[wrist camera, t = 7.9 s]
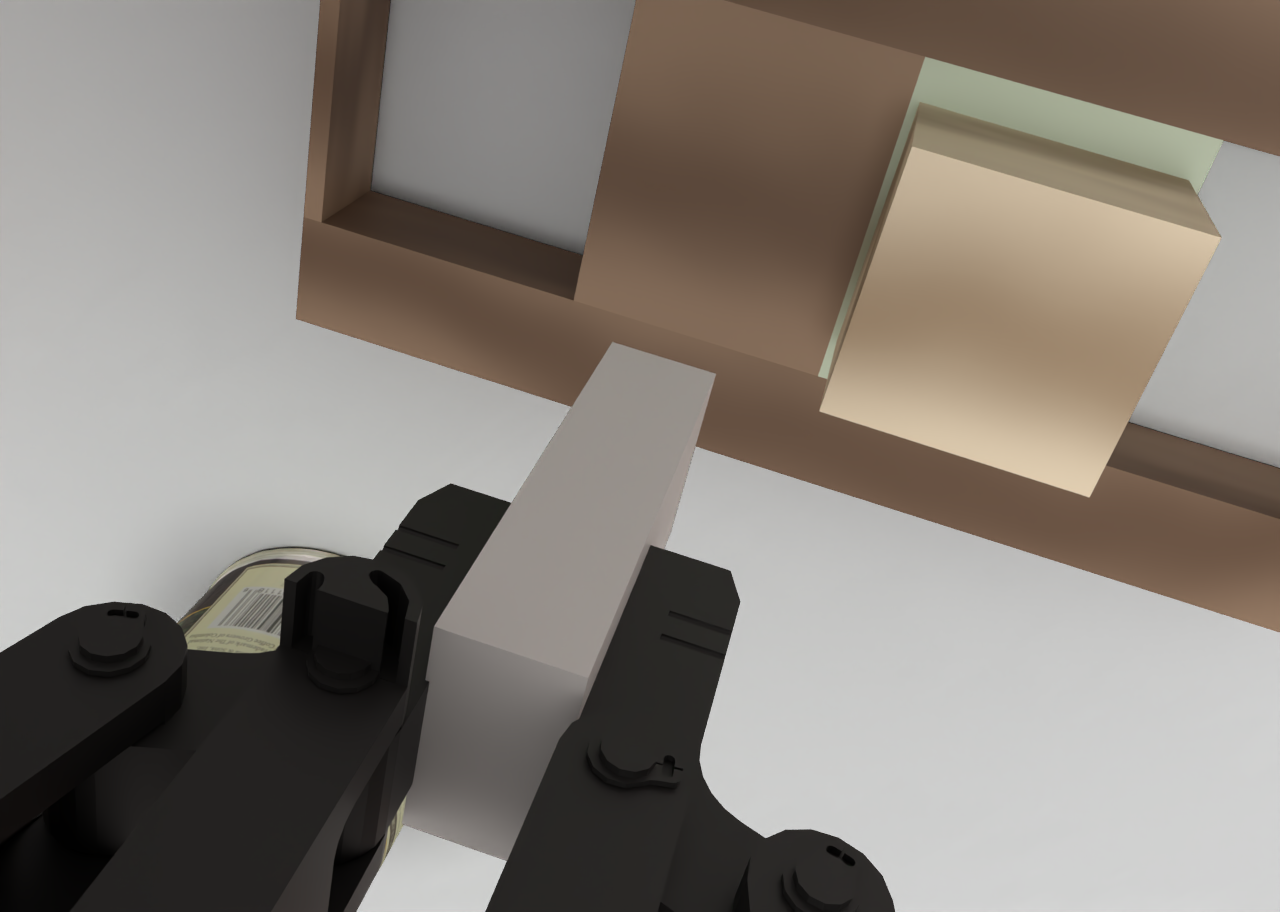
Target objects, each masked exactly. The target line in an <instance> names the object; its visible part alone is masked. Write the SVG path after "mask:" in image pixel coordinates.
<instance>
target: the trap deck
mask: <svg viewBox="0 0 1280 912" xmlns="http://www.w3.org/2000/svg"><path fill="white" fill-rule="evenodd" d="M389 9H390V0H320V11H319V24H318V37H317V50H316V63H315V76H314V89H313V102H312V115H311V128H310V141H309V155H308V168H307V181H306V194H305V207H304V220H303V233H302V246H301V259H300V272H299V285H298V298H297V311H296V319H298V320H301V321H304V322H307V323H310V324H314V325H317V326H320V327H323V328H326V329H329V330H332V331H335V332H339V333H342V334H345V335H348V336H351V337H354V338H357V339H361V340H364V341H367V342H370V343H373V344H376V345H379V346H383V347H386V348H389V349H392V350H395V351H398V352H401V353H405V354H408V355H411V356H414V357H417V358H420V359H423V360H426V361H430V362H433V363H436V364H439V365H442V366H445V367H448V368H452V369H455V370H458V371H461V372H464V373H467V374H470V375H474V376H477V377H480V378H483V379H486V380H489V381H492V382H496V383H499V384H502V385H505V386H508V387H511V388H514V389H517V390H521V391H524V392H527V393H530V394H533V395H536V396H539V397H543V398H546V399H549V400H552V401H555V402H558V403H561V404H565V405H568V406H571V407H572V406H573V404H574V403H575V401H576V399H577V398H578V396H579V395H580V393H581V391H582V390H583V388H584V387H585V385H586V383H587V382H588V380H589V379H590V377H591V375H592V374H593V372H594V371H595V369H596V367H597V366H598V364H599V363H600V361H601V359H602V358H603V356H604V355H605V353H606V351H607V350H608V348H609V347H610V345H611V344H612V342H614V343H617V344H621V345H624V346H627V347H630V348H634V349H637V350H640V351H643V352H647V353H650V354H653V355H656V356H660V357H663V358H666V359H669V360H673V361H676V362H679V363H682V364H686V365H689V366H692V367H695V368H699V369H702V370H705V371H708V372H711V373H715V374H716V376H715V379H714V383H713V386H712V390H711V393H710V397H709V400H708V404H707V407H706V411H705V414H704V418H703V421H702V425H701V428H700V432H699V436H698V439H697V443H696V447H699V448H703V449H706V450H709V451H712V452H715V453H718V454H721V455H725V456H728V457H731V458H734V459H737V460H740V461H743V462H747V463H750V464H753V465H756V466H759V467H762V468H765V469H769V470H772V471H775V472H778V473H781V474H784V475H787V476H790V477H794V478H797V479H800V480H803V481H806V482H809V483H812V484H816V485H819V486H822V487H825V488H828V489H831V490H834V491H838V492H841V493H844V494H847V495H850V496H853V497H856V498H860V499H863V500H866V501H869V502H872V503H875V504H878V505H881V506H885V507H888V508H891V509H894V510H897V511H900V512H903V513H907V514H910V515H913V516H916V517H919V518H922V519H925V520H929V521H932V522H935V523H938V524H941V525H944V526H947V527H951V528H954V529H957V530H960V531H963V532H966V533H969V534H972V535H976V536H979V537H982V538H985V539H988V540H991V541H994V542H998V543H1001V544H1004V545H1007V546H1010V547H1013V548H1016V549H1020V550H1023V551H1026V552H1029V553H1032V554H1035V555H1038V556H1042V557H1045V558H1048V559H1051V560H1054V561H1057V562H1060V563H1063V564H1067V565H1070V566H1073V567H1076V568H1079V569H1082V570H1085V571H1089V572H1092V573H1095V574H1098V575H1101V576H1104V577H1107V578H1111V579H1114V580H1117V581H1120V582H1123V583H1126V584H1129V585H1133V586H1136V587H1139V588H1142V589H1145V590H1148V591H1151V592H1154V593H1158V594H1161V595H1164V596H1167V597H1170V598H1173V599H1176V600H1180V601H1183V602H1186V603H1189V604H1192V605H1195V606H1198V607H1202V608H1205V609H1208V610H1211V611H1214V612H1217V613H1220V614H1223V615H1227V616H1230V617H1233V618H1236V619H1239V620H1242V621H1245V622H1249V623H1252V624H1255V625H1258V626H1261V627H1264V628H1267V629H1271V630H1274V631H1277V632H1280V468H1276V467H1273V466H1270V465H1266V464H1263V463H1260V462H1257V461H1253V460H1250V459H1247V458H1244V457H1240V456H1237V455H1234V454H1230V453H1227V452H1224V451H1221V450H1217V449H1214V448H1211V447H1208V446H1204V445H1201V444H1198V443H1194V442H1191V441H1188V440H1185V439H1181V438H1178V437H1175V436H1172V435H1168V434H1165V433H1162V432H1158V431H1155V430H1152V429H1149V428H1145V427H1142V426H1139V425H1136V424H1132V423H1129V422H1128V423H1127V425H1126V427H1125V429H1124V431H1123V433H1122V435H1121V437H1120V439H1119V441H1118V443H1117V445H1116V446H1115V448H1114V450H1113V452H1112V454H1111V456H1110V458H1109V460H1108V462H1107V464H1106V466H1105V468H1104V470H1103V472H1102V474H1101V476H1100V478H1099V480H1098V482H1097V484H1096V486H1095V488H1094V490H1093V492H1092V494H1091V496H1090V498H1089V497H1086V496H1083V495H1080V494H1077V493H1074V492H1071V491H1068V490H1064V489H1061V488H1058V487H1055V486H1052V485H1049V484H1046V483H1042V482H1039V481H1036V480H1033V479H1030V478H1027V477H1024V476H1020V475H1017V474H1014V473H1011V472H1008V471H1005V470H1002V469H998V468H995V467H992V466H989V465H986V464H983V463H980V462H977V461H973V460H970V459H967V458H964V457H961V456H958V455H955V454H951V453H948V452H945V451H942V450H939V449H936V448H933V447H929V446H926V445H923V444H920V443H917V442H914V441H911V440H907V439H904V438H901V437H898V436H895V435H892V434H889V433H886V432H882V431H879V430H876V429H873V428H870V427H867V426H864V425H860V424H857V423H854V422H851V421H848V420H845V419H842V418H838V417H835V416H832V415H829V414H826V413H823V412H820V411H819V410H820V406H821V402H822V398H823V394H824V390H825V386H826V382H827V378H828V374H829V370H830V366H831V362H832V358H833V354H834V350H835V346H836V342H837V339H838V336H839V333H840V330H841V327H842V325H843V322H844V319H845V316H846V313H847V310H848V307H849V304H850V301H851V299H852V296H853V293H854V290H855V287H856V284H857V281H858V278H859V276H860V273H861V270H862V267H863V264H864V261H865V258H866V255H867V253H868V250H869V247H870V244H871V241H872V238H873V235H874V232H875V229H876V227H877V224H878V221H879V218H880V215H881V212H882V209H883V206H884V204H885V201H886V198H887V195H888V192H889V189H890V186H891V183H892V180H893V178H894V175H895V172H896V169H897V166H898V163H899V160H900V157H901V155H902V152H903V149H904V146H905V143H906V140H907V137H908V134H909V132H910V129H911V126H912V123H913V120H914V117H915V114H916V111H917V108H918V106H919V103H920V102H922V103H926V104H929V105H932V106H936V107H939V108H943V109H946V110H950V111H953V112H956V113H960V114H963V115H967V116H970V117H974V118H977V119H980V120H984V121H987V122H991V123H994V124H998V125H1001V126H1005V127H1008V128H1011V129H1015V130H1018V131H1022V132H1025V133H1029V134H1032V135H1035V136H1039V137H1042V138H1046V139H1049V140H1053V141H1056V142H1059V143H1063V144H1066V145H1070V146H1073V147H1077V148H1080V149H1083V150H1087V151H1090V152H1094V153H1097V154H1101V155H1104V156H1107V157H1111V158H1114V159H1118V160H1121V161H1125V162H1128V163H1131V164H1135V165H1138V166H1142V167H1145V168H1149V169H1152V170H1155V171H1159V172H1162V173H1166V174H1169V175H1173V176H1176V177H1179V178H1183V179H1186V180H1189V181H1190V183H1191V185H1192V187H1193V188H1194V190H1195V192H1196V194H1197V195H1198V193H1199V191H1200V189H1201V187H1202V184H1203V182H1204V180H1205V178H1206V176H1207V174H1208V172H1209V170H1210V168H1211V166H1212V164H1213V162H1214V160H1215V157H1216V155H1217V153H1218V151H1219V149H1220V147H1221V145H1222V143H1223V141H1227V142H1231V143H1234V144H1238V145H1241V146H1245V147H1249V148H1252V149H1256V150H1259V151H1263V152H1266V153H1270V154H1273V155H1277V156H1280V0H636V3H635V8H634V13H633V17H632V22H631V27H630V32H629V37H628V41H627V46H626V51H625V56H624V61H623V65H622V70H621V75H620V80H619V85H618V90H617V94H616V99H615V104H614V109H613V114H612V118H611V123H610V128H609V133H608V138H607V142H606V147H605V152H604V157H603V162H602V166H601V171H600V176H599V181H598V186H597V190H596V195H595V200H594V205H593V210H592V215H591V219H590V224H589V229H588V234H587V239H586V243H585V248H584V253H583V255H579V254H576V253H573V252H570V251H566V250H563V249H560V248H556V247H553V246H550V245H547V244H543V243H540V242H537V241H534V240H530V239H527V238H524V237H520V236H517V235H514V234H511V233H507V232H504V231H501V230H498V229H494V228H491V227H488V226H484V225H481V224H478V223H475V222H471V221H468V220H465V219H462V218H458V217H455V216H452V215H448V214H445V213H442V212H439V211H435V210H432V209H429V208H426V207H422V206H419V205H416V204H412V203H409V202H406V201H403V200H399V199H396V198H393V197H390V196H386V195H383V194H380V193H376V192H373V191H370V189H371V179H372V170H373V160H374V151H375V141H376V132H377V123H378V113H379V104H380V94H381V85H382V75H383V66H384V56H385V47H386V38H387V28H388V19H389Z"/></svg>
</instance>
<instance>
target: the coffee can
mask: <svg viewBox="0 0 1280 912" xmlns="http://www.w3.org/2000/svg"><path fill="white" fill-rule="evenodd" d="M326 557H341V556H339V555H336V554H332V553H327V552H323V551H318V550H312V549H302V548H282V549H274V550H267V551H261V552H258V553H255V554H253V555H251V556H248V557H246V558H243V559H241V560H239V561H237V562H236V563H234V564H233V565H231V566H230V567H228V568H227V569H226V570H225V571H224V572H223V573H222V574H221V575H220V576H219V577H218V578H217V579H216V580H215V581H214V583H213V584H212V585H211V587H210V589H209V590H208V591H207V593H206V594H205V595H204V596H203V597H202V598H201V599H200V600H199V601H198V602H197V603H196V604H195V605H194V606H193V608H192V609H190V610H189V612H188V613H187V614H186V615H185V616H184V617H183V618H182V619H181V620H180V621H179V622H178V623H177V624H179V625H180V626H181V627H182V630H183V633H184V636H185V639H186V642H187V645H188V649H193V650H205V651H217V652H229V653H261V652H267V651H273V650H276V649H277V647H278V646H279V645H280V633H281V619H282V606H283V592H284V579H285V578H286V577H287V576H289V575H290V574H291V573H293V572H294V571H295V570H297V569H298V568H299V567H300V566H302V565H304V564H307V563H310V562H314V561H317V560H320V559H323V558H326ZM405 802H406V797H405V798H404V800H403V802H402V804H401V806H400V807H399V809H398V811H397V813H396V815H395V817H394V818H393V820H392V822H391V824H390V826H389V827H388V833H387V839H386V846H385V850H384V854H383V858H382V861H381V865H382V863H383V862H384V860H385V858H386V856H387V854H388V852H389V851H390V849H391V847H392V845H393V843H394V841H395V839H396V837H397V836H398V834H399V832H400V830H401V829H402V827H403V824H402V820H403V814H404V808H405ZM381 865H380V867H381ZM379 869H380V868H379ZM377 872H378V871H377ZM376 874H377V873H376ZM375 876H376V875H375ZM374 878H375V877H374ZM373 880H374V879H373ZM370 885H371V884H370ZM369 887H370V886H369ZM368 889H369V888H368ZM367 891H368V890H367ZM366 893H367V892H366ZM362 900H363V899H362ZM361 902H362V901H361ZM360 904H361V903H360ZM359 906H360V905H359Z"/></svg>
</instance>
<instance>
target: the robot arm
mask: <svg viewBox="0 0 1280 912" xmlns="http://www.w3.org/2000/svg"><path fill="white" fill-rule="evenodd" d="M715 376H716V374H715V373H711V372H708V371H705V370H702V369H699V368H695V367H692V366H689V365H686V364H682V363H679V362H676V361H673V360H669V359H666V358H663V357H660V356H656V355H653V354H650V353H647V352H643V351H640V350H637V349H634V348H630V347H627V346H624V345H621V344H617V343H614V342H612V344H611V345H610V347H609V348H608V350H607V351H606V353H605V355H604V356H603V358H602V359H601V361H600V363H599V364H598V366H597V367H596V369H595V371H594V372H593V374H592V375H591V377H590V379H589V380H588V382H587V383H586V385H585V387H584V388H583V390H582V391H581V393H580V395H579V396H578V398H577V399H576V401H575V403H574V404H573V406H572V407H571V409H570V410H569V412H568V414H567V415H566V417H565V418H564V420H563V422H562V423H561V425H560V426H559V428H558V430H557V431H556V433H555V434H554V436H553V438H552V439H551V441H550V442H549V444H548V446H547V447H546V449H545V450H544V452H543V454H542V455H541V457H540V458H539V460H538V462H537V463H536V465H535V466H534V468H533V469H532V471H531V473H530V474H529V476H528V477H527V479H526V481H525V482H524V484H523V485H522V487H521V489H520V490H519V492H518V493H517V495H516V497H515V498H514V500H513V501H512V503H510V502H507V501H503V500H500V499H497V498H494V497H491V496H488V495H485V494H482V493H479V492H476V491H472V490H469V489H466V488H463V487H460V486H457V485H454V484H449V485H447V486H445V487H443V488H441V489H439V490H437V491H435V492H433V493H431V494H429V495H427V496H426V497H424V498H422V499H420V500H418V501H417V503H416V504H415V505H414V507H413V508H412V509H411V510H410V512H409V513H408V514H407V516H406V517H405V518H404V520H403V521H402V522H401V524H400V525H399V528H398V530H395V532H394V533H393V534H392V536H391V537H390V538H389V539H388V541H387V542H386V543H385V545H384V548H383V550H382V551H381V550H380V551H379V553H378V554H377V555H376V557H375V558H374V559H373V560H372V559H367V558H361V557H356V556H343V557H326V558H323V559H320V560H317V561H314V562H310V563H307V564H304V565H302V566H300V567H299V568H298V569H297V570H295V571H294V572H293V573H291V574H290V575H289V576H287V577H286V578H285V579H284V592H283V606H282V619H281V633H280V645H279V646H278V647H277V649H276V650H273V651H267V652H261V653H229V652H217V651H205V650H193V649H188V645H187V642H186V639H185V636H184V633H183V630H182V627H181V626H180V625H179V624H177V623H176V622H175V621H174V620H173V619H172V618H171V617H170V616H168V615H167V614H166V613H164V612H161V611H159V610H156V609H154V608H151V607H148V606H146V605H143V604H134V603H122V602H110V603H103V604H97V605H90V606H84V607H82V608H80V609H77V610H75V611H73V612H70V613H68V614H66V615H63V616H61V617H59V618H57V619H55V620H54V621H52V622H50V623H49V624H47V625H45V626H44V627H42V628H40V629H39V630H37V631H35V632H34V633H32V634H30V635H29V636H27V637H25V638H24V639H22V640H20V641H19V642H17V643H15V644H14V645H12V646H10V647H9V648H7V649H5V650H4V651H2V652H0V912H356V911H357V909H358V907H359V905H360V903H361V901H362V899H363V898H364V896H365V894H366V892H367V890H368V888H369V886H370V884H371V883H372V881H373V879H374V877H375V875H376V873H377V871H378V870H379V868H380V865H381V861H382V858H383V854H384V850H385V846H386V839H387V833H388V827H389V826H390V824H391V822H392V820H393V818H394V817H395V815H396V813H397V811H398V809H399V807H400V806H401V804H402V802H403V800H404V798H405V797H406V802H405V808H404V814H403V820H402V824H403V825H406V826H409V827H412V828H414V829H417V830H420V831H423V832H426V833H429V834H431V835H434V836H437V837H440V838H443V839H446V840H449V841H451V842H454V843H457V844H460V845H463V846H466V847H469V848H471V849H474V850H477V851H480V852H483V853H486V854H488V855H491V856H494V857H497V858H500V859H503V860H506V861H507V862H506V865H505V867H504V869H503V872H502V874H501V876H500V879H499V881H498V883H497V886H496V888H495V890H494V893H493V895H492V897H491V900H490V902H489V904H488V907H487V909H486V911H485V912H895V909H894V904H893V900H892V898H891V895H890V893H889V890H888V888H887V886H886V883H885V881H884V878H883V876H882V875H881V874H880V872H879V871H878V870H877V869H876V868H875V867H874V865H873V864H872V863H871V862H870V861H869V860H868V859H867V857H866V856H865V855H864V854H863V853H861V852H860V851H858V850H857V849H855V848H854V847H852V846H850V845H849V844H847V843H846V842H844V841H843V840H841V839H840V838H838V837H834V836H831V835H828V834H825V833H821V832H818V831H815V830H811V829H810V830H784V831H782V832H779V833H777V834H775V835H773V836H770V837H768V838H764V837H763V836H761V835H760V834H758V833H757V832H755V831H754V830H752V829H751V828H749V827H748V826H746V825H745V824H743V823H742V822H740V821H739V820H738V819H737V818H735V817H734V816H733V815H732V814H730V813H729V812H728V811H727V810H725V809H724V808H723V806H722V805H721V804H720V803H719V802H718V800H717V799H716V798H715V797H714V796H713V794H712V793H711V791H710V789H709V788H708V786H707V784H706V782H705V780H704V778H703V775H702V770H701V766H700V761H699V759H700V749H701V743H702V739H703V736H704V732H705V728H706V725H707V721H708V717H709V714H710V710H711V707H712V703H713V699H714V696H715V692H716V688H717V685H718V681H719V677H720V674H721V670H722V666H723V663H724V659H725V655H726V652H727V648H728V645H729V641H730V637H731V633H732V630H733V626H734V623H735V619H736V615H737V612H738V608H739V605H740V599H739V596H738V593H737V590H736V587H735V584H734V580H733V577H732V574H731V571H729V570H726V569H723V568H720V567H717V566H714V565H711V564H708V563H705V562H702V561H699V560H695V559H692V558H689V557H686V556H683V555H680V554H677V553H674V552H671V551H668V550H664V549H665V546H666V543H667V541H668V538H669V536H670V533H671V530H672V527H673V523H674V520H675V516H676V513H677V509H678V506H679V502H680V499H681V495H682V492H683V488H684V485H685V481H686V478H687V474H688V471H689V467H690V464H691V460H692V457H693V453H694V450H695V446H696V443H697V439H698V436H699V432H700V428H701V425H702V421H703V418H704V414H705V411H706V407H707V404H708V400H709V397H710V393H711V390H712V386H713V383H714V379H715Z"/></svg>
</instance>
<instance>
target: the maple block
mask: <svg viewBox="0 0 1280 912" xmlns="http://www.w3.org/2000/svg"><path fill="white" fill-rule="evenodd" d="M1220 240H1221V236H1220V234H1219V232H1218V231H1217V229H1216V227H1215V225H1214V224H1213V222H1212V220H1211V218H1210V217H1209V215H1208V213H1207V211H1206V209H1205V208H1204V206H1203V204H1202V202H1201V201H1200V199H1199V197H1198V195H1197V194H1196V192H1195V190H1194V188H1193V187H1192V185H1191V183H1190V181H1189V180H1186V179H1183V178H1179V177H1176V176H1173V175H1169V174H1166V173H1162V172H1159V171H1155V170H1152V169H1149V168H1145V167H1142V166H1138V165H1135V164H1131V163H1128V162H1125V161H1121V160H1118V159H1114V158H1111V157H1107V156H1104V155H1101V154H1097V153H1094V152H1090V151H1087V150H1083V149H1080V148H1077V147H1073V146H1070V145H1066V144H1063V143H1059V142H1056V141H1053V140H1049V139H1046V138H1042V137H1039V136H1035V135H1032V134H1029V133H1025V132H1022V131H1018V130H1015V129H1011V128H1008V127H1005V126H1001V125H998V124H994V123H991V122H987V121H984V120H980V119H977V118H974V117H970V116H967V115H963V114H960V113H956V112H953V111H950V110H946V109H943V108H939V107H936V106H932V105H929V104H926V103H922V102H920V103H919V106H918V108H917V111H916V114H915V117H914V120H913V123H912V126H911V129H910V132H909V134H908V137H907V140H906V143H905V146H904V149H903V152H902V155H901V157H900V160H899V163H898V166H897V169H896V172H895V175H894V178H893V180H892V183H891V186H890V189H889V192H888V195H887V198H886V201H885V204H884V206H883V209H882V212H881V215H880V218H879V221H878V224H877V227H876V229H875V232H874V235H873V238H872V241H871V244H870V247H869V250H868V253H867V255H866V258H865V261H864V264H863V267H862V270H861V273H860V276H859V278H858V281H857V284H856V287H855V290H854V293H853V296H852V299H851V301H850V304H849V307H848V310H847V313H846V316H845V319H844V322H843V325H842V327H841V330H840V333H839V336H838V339H837V342H836V346H835V350H834V354H833V358H832V362H831V366H830V370H829V374H828V378H827V382H826V386H825V390H824V394H823V398H822V402H821V406H820V410H819V411H820V412H823V413H826V414H829V415H832V416H835V417H838V418H842V419H845V420H848V421H851V422H854V423H857V424H860V425H864V426H867V427H870V428H873V429H876V430H879V431H882V432H886V433H889V434H892V435H895V436H898V437H901V438H904V439H907V440H911V441H914V442H917V443H920V444H923V445H926V446H929V447H933V448H936V449H939V450H942V451H945V452H948V453H951V454H955V455H958V456H961V457H964V458H967V459H970V460H973V461H977V462H980V463H983V464H986V465H989V466H992V467H995V468H998V469H1002V470H1005V471H1008V472H1011V473H1014V474H1017V475H1020V476H1024V477H1027V478H1030V479H1033V480H1036V481H1039V482H1042V483H1046V484H1049V485H1052V486H1055V487H1058V488H1061V489H1064V490H1068V491H1071V492H1074V493H1077V494H1080V495H1083V496H1086V497H1089V498H1090V496H1091V494H1092V492H1093V490H1094V488H1095V486H1096V484H1097V482H1098V480H1099V478H1100V476H1101V474H1102V472H1103V470H1104V468H1105V466H1106V464H1107V462H1108V460H1109V458H1110V456H1111V454H1112V452H1113V450H1114V448H1115V446H1116V445H1117V443H1118V441H1119V439H1120V437H1121V435H1122V433H1123V431H1124V429H1125V427H1126V425H1127V423H1128V421H1129V419H1130V417H1131V415H1132V413H1133V411H1134V409H1135V407H1136V405H1137V403H1138V401H1139V399H1140V397H1141V395H1142V393H1143V391H1144V389H1145V387H1146V386H1147V384H1148V382H1149V380H1150V378H1151V376H1152V374H1153V372H1154V370H1155V368H1156V366H1157V364H1158V362H1159V360H1160V358H1161V356H1162V354H1163V352H1164V350H1165V348H1166V346H1167V344H1168V342H1169V340H1170V338H1171V336H1172V334H1173V332H1174V330H1175V329H1176V327H1177V325H1178V323H1179V321H1180V319H1181V317H1182V315H1183V313H1184V311H1185V309H1186V307H1187V305H1188V303H1189V301H1190V299H1191V297H1192V295H1193V293H1194V291H1195V289H1196V287H1197V285H1198V283H1199V281H1200V279H1201V277H1202V275H1203V273H1204V272H1205V270H1206V268H1207V266H1208V264H1209V262H1210V260H1211V258H1212V256H1213V254H1214V252H1215V250H1216V248H1217V246H1218V244H1219V242H1220Z"/></svg>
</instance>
